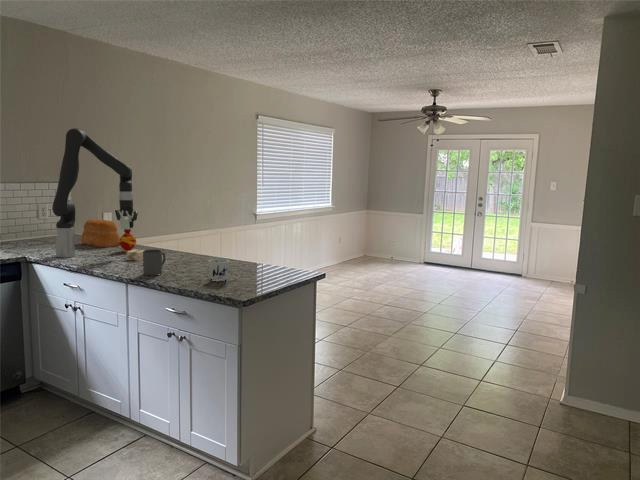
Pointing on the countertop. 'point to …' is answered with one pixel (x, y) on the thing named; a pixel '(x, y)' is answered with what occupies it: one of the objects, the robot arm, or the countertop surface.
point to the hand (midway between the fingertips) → (127, 227)
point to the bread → (100, 233)
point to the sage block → (125, 223)
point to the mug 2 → (218, 268)
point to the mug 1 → (153, 262)
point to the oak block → (135, 255)
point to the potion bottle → (127, 240)
